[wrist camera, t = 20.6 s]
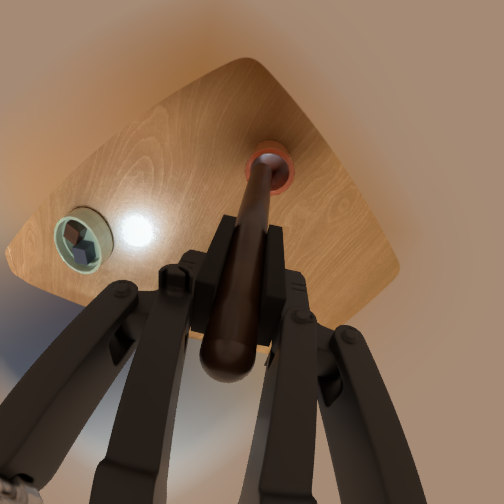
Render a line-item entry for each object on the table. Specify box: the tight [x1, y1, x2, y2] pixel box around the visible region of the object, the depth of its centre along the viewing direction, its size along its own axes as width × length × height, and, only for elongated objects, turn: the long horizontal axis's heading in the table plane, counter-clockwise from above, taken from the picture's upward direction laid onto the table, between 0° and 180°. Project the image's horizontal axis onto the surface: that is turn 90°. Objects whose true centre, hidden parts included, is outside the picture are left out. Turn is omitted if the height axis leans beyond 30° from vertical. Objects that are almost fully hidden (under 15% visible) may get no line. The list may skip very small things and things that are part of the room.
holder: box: [245, 140, 295, 196], centre depth 34 cm, size 6×6×10 cm
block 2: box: [72, 240, 96, 265], centre depth 47 cm, size 4×4×4 cm
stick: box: [200, 163, 272, 383], centre depth 17 cm, size 2×2×22 cm
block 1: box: [63, 220, 87, 246], centre depth 45 cm, size 4×4×4 cm
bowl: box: [54, 207, 113, 274], centre depth 45 cm, size 12×12×5 cm
